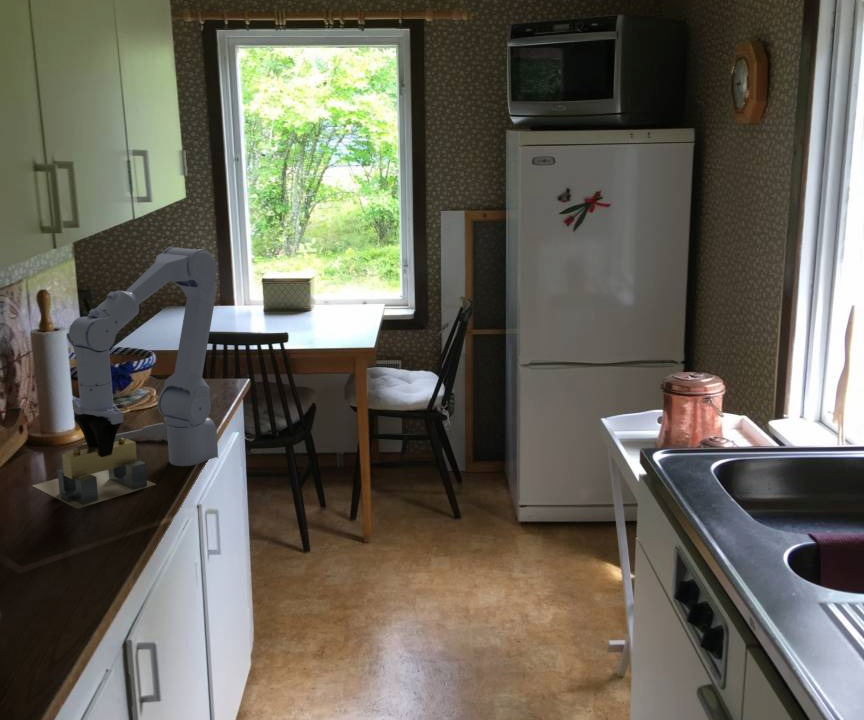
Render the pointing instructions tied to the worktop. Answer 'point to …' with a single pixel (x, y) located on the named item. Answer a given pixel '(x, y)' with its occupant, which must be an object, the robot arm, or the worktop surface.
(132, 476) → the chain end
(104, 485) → the jig board
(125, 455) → the master link
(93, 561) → the worktop surface
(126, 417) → the worktop surface
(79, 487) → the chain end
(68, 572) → the worktop surface
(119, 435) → the caliper
